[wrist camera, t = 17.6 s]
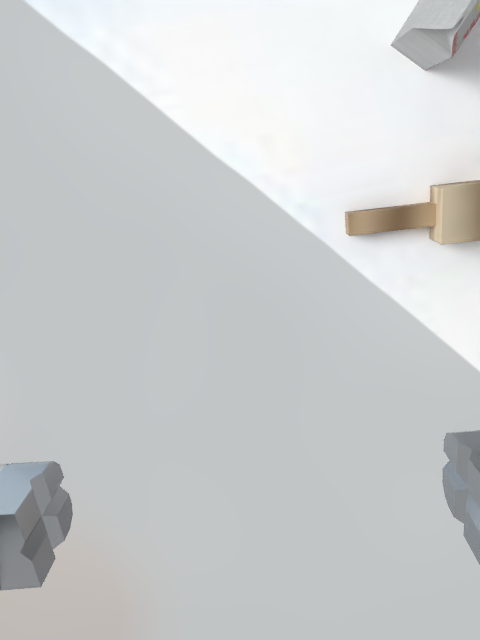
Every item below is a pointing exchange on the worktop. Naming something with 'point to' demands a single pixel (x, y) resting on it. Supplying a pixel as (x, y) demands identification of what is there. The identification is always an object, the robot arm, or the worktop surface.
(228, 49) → the worktop surface
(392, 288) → the worktop surface
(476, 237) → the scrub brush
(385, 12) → the worktop surface
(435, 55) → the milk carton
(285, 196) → the worktop surface
